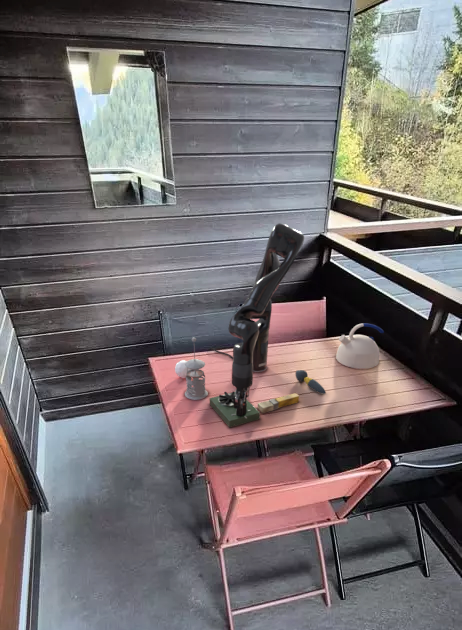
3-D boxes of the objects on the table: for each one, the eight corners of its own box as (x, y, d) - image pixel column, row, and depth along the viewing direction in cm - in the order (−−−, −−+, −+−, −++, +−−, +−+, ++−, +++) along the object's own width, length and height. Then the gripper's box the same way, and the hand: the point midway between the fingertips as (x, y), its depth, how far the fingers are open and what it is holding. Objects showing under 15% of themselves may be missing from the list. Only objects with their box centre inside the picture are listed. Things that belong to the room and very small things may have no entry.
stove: (209, 404, 178) (209, 397, 176) (238, 397, 182) (238, 390, 181) (230, 429, 164) (230, 422, 162) (261, 420, 169) (261, 413, 167)
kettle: (329, 351, 219) (335, 315, 208) (369, 349, 221) (377, 314, 210) (342, 370, 202) (349, 333, 192) (385, 368, 204) (394, 331, 194)
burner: (214, 398, 176) (214, 394, 175) (234, 393, 179) (235, 389, 178) (224, 409, 169) (224, 405, 168) (245, 403, 173) (245, 399, 172)
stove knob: (234, 411, 168) (234, 400, 165) (243, 408, 170) (243, 398, 167) (239, 416, 165) (239, 405, 162) (248, 414, 167) (248, 403, 164)
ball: (189, 382, 198) (197, 372, 192) (173, 380, 193) (180, 370, 187) (186, 368, 201) (194, 358, 195) (170, 365, 196) (178, 355, 190)
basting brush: (262, 413, 173) (262, 406, 171) (257, 408, 176) (257, 402, 174) (299, 403, 179) (300, 396, 177) (294, 398, 182) (294, 392, 180)
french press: (190, 402, 179) (187, 344, 164) (179, 389, 187) (175, 333, 172) (211, 396, 183) (210, 340, 168) (200, 383, 191) (198, 329, 176)
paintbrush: (330, 393, 186) (332, 382, 183) (322, 396, 183) (324, 386, 180) (297, 375, 198) (298, 365, 195) (289, 378, 196) (290, 368, 193)
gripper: (246, 383, 151) (245, 424, 161) (257, 365, 162) (255, 404, 172) (226, 379, 153) (225, 420, 163) (238, 362, 164) (237, 401, 174)
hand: (241, 412), depth 167 cm, fingers closed on stove knob, 4 cm apart
